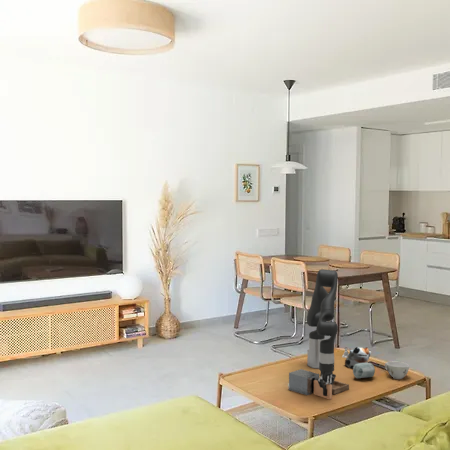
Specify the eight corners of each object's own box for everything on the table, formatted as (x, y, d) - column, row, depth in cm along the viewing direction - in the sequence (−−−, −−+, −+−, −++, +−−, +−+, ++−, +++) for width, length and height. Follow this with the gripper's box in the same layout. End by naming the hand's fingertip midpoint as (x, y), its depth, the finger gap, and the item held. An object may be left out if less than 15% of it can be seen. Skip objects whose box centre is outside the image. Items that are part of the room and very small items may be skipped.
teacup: (413, 378, 307) (414, 364, 306) (399, 382, 300) (399, 368, 299) (391, 372, 319) (392, 358, 319) (377, 375, 312) (378, 361, 312)
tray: (309, 387, 290) (309, 382, 290) (324, 382, 299) (324, 377, 299) (334, 395, 278) (334, 390, 278) (348, 389, 287) (349, 384, 287)
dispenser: (288, 389, 286) (289, 372, 286) (300, 385, 293) (301, 369, 293) (307, 395, 277) (307, 378, 277) (319, 391, 284) (319, 374, 284)
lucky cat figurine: (365, 364, 334) (366, 342, 333) (373, 371, 322) (374, 348, 321) (342, 364, 332) (343, 342, 331) (349, 371, 320) (350, 348, 319)
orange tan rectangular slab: (313, 394, 279) (313, 380, 279) (315, 393, 280) (315, 380, 280) (329, 399, 272) (330, 385, 272) (331, 398, 273) (331, 384, 273)
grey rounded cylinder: (359, 379, 297) (364, 361, 299) (346, 374, 306) (352, 357, 307) (375, 384, 304) (380, 366, 305) (363, 379, 312) (368, 362, 314)
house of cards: (353, 362, 340) (353, 350, 340) (339, 360, 344) (340, 348, 344) (357, 359, 348) (357, 347, 347) (344, 357, 352) (344, 345, 352)
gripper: (328, 357, 281) (328, 390, 282) (312, 362, 272) (312, 396, 273) (340, 360, 276) (340, 394, 276) (324, 365, 267) (324, 400, 267)
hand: (326, 395), depth 274 cm, fingers closed on orange tan rectangular slab
